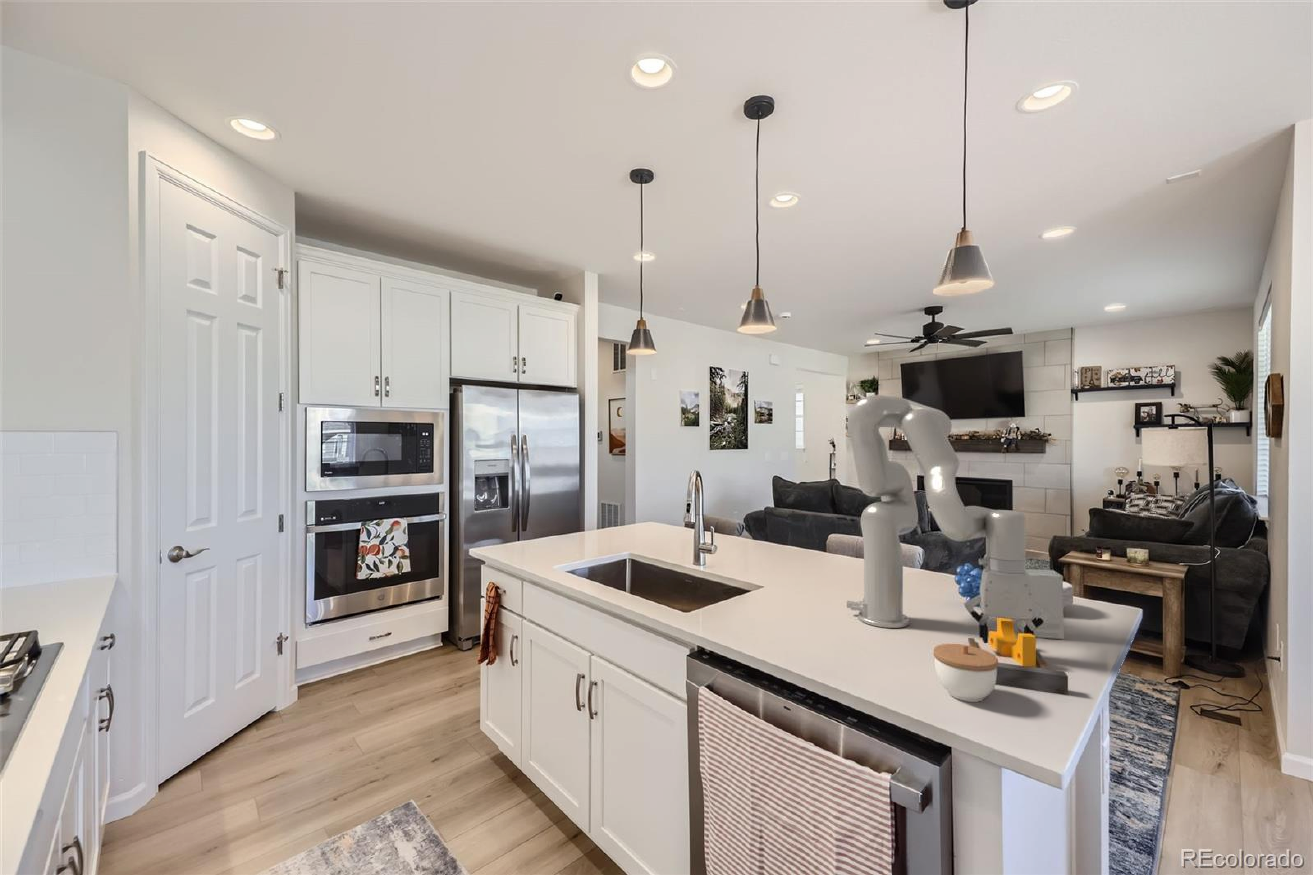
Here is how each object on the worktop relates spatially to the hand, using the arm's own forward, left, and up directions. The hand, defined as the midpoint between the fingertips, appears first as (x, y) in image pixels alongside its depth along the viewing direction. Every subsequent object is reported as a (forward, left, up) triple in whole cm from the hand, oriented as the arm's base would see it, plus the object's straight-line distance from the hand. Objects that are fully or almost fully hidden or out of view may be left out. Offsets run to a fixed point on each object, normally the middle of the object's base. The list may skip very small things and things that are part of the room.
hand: (1005, 643), depth 124 cm
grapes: (-3, +37, -3) cm, 37 cm away
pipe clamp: (+1, 0, -3) cm, 3 cm away
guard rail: (0, -6, -2) cm, 6 cm away
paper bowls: (+15, +42, -3) cm, 45 cm away
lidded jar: (-11, -25, -3) cm, 28 cm away
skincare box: (+10, +18, -3) cm, 21 cm away
